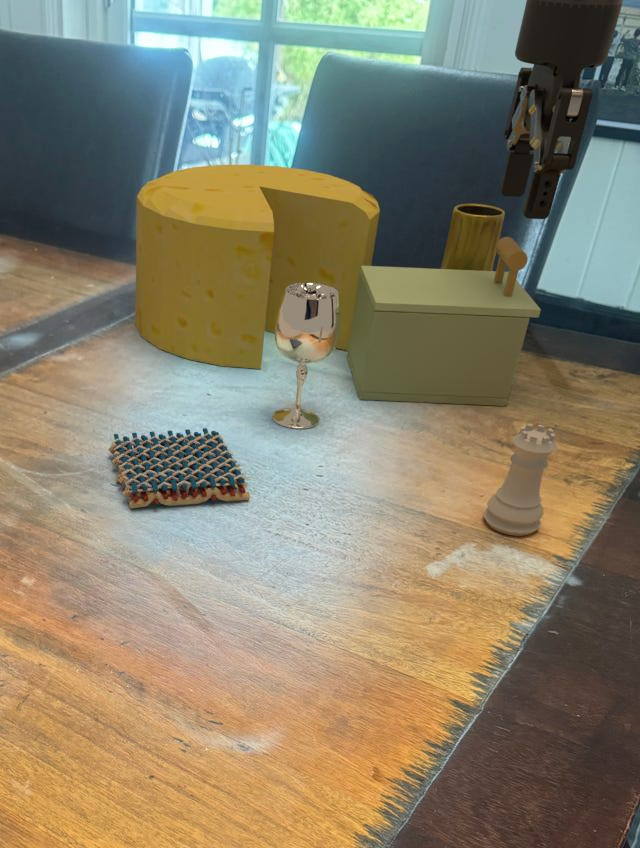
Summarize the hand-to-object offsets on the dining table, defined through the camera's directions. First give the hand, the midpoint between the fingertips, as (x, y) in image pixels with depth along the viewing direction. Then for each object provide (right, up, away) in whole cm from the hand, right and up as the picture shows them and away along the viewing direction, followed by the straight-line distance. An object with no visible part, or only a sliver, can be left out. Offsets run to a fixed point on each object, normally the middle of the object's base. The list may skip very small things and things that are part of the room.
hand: (522, 206), depth 88 cm
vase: (-1, -7, +19) cm, 21 cm away
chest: (-6, -13, +11) cm, 18 cm away
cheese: (-24, -4, +22) cm, 33 cm away
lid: (-6, -6, +5) cm, 10 cm away
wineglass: (-21, -19, +2) cm, 29 cm away
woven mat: (-32, -27, -8) cm, 43 cm away
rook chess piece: (-6, -31, -12) cm, 34 cm away
